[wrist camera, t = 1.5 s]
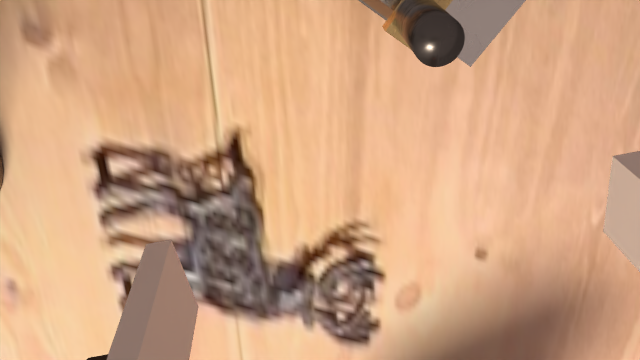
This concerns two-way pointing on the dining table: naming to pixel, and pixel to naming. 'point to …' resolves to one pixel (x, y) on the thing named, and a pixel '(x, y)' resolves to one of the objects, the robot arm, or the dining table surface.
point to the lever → (427, 30)
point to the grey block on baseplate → (477, 22)
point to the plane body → (378, 8)
